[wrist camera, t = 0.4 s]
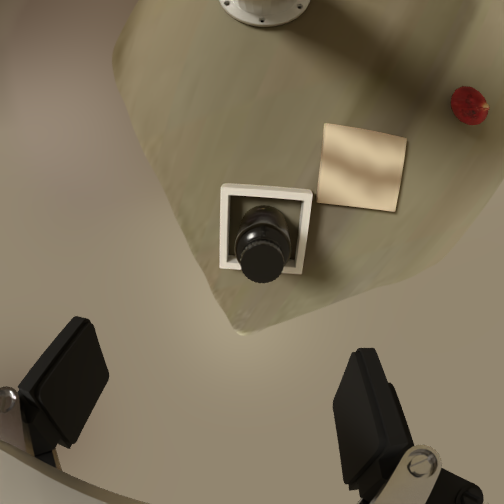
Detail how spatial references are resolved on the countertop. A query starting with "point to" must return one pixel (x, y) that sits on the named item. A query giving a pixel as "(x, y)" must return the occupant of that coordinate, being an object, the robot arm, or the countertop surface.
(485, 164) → the countertop surface
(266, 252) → the supplement bottle
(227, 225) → the white square frame
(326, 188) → the board
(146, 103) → the countertop surface
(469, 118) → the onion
